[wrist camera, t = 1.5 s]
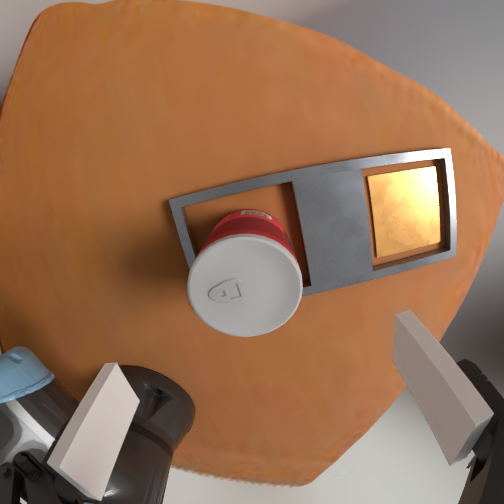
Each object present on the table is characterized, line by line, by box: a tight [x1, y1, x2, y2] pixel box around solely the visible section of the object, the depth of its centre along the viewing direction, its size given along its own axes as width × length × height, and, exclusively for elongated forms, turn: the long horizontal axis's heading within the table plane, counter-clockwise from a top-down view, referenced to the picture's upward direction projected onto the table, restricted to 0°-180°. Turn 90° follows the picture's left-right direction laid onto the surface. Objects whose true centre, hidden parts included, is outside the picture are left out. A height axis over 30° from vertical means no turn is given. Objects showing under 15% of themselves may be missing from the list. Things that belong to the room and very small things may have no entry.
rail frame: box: [169, 148, 456, 296], centre depth 28 cm, size 31×13×1 cm, turn 103°
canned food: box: [187, 209, 303, 337], centre depth 24 cm, size 8×8×11 cm
